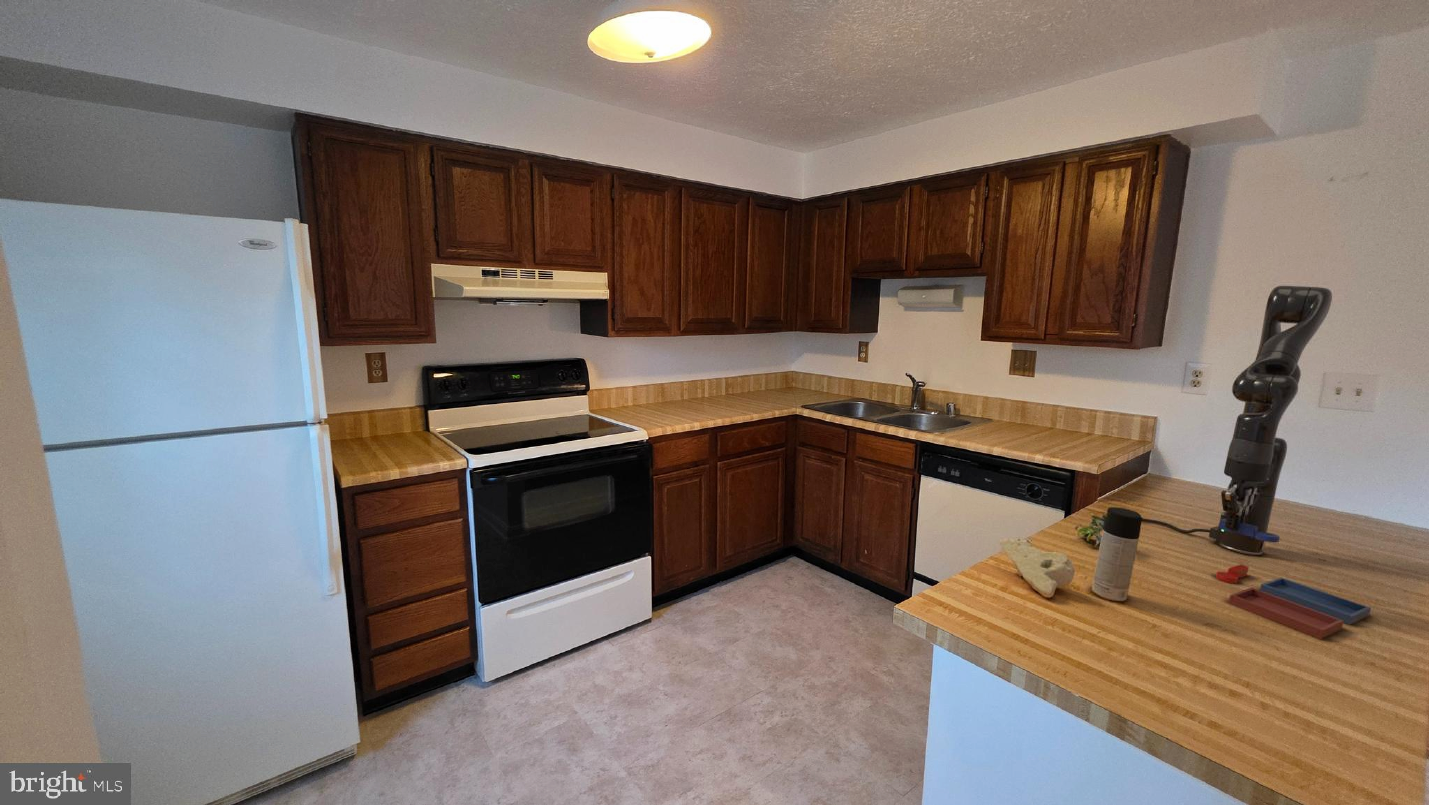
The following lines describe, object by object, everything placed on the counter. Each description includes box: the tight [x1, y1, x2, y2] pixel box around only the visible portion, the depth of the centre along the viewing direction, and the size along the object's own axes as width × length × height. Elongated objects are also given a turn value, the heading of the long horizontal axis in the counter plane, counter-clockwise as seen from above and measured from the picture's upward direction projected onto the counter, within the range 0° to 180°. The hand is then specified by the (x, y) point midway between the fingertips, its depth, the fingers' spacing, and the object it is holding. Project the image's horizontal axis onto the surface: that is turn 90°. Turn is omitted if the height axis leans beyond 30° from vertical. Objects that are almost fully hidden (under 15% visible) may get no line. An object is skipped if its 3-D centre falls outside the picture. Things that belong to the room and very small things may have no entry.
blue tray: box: [1259, 577, 1372, 626], centre depth 130 cm, size 15×10×2 cm
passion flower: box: [1074, 512, 1107, 549], centre depth 156 cm, size 11×11×12 cm
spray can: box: [1091, 506, 1143, 602], centre depth 127 cm, size 7×7×20 cm
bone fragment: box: [999, 537, 1075, 599], centre depth 131 cm, size 15×7×15 cm
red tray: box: [1228, 587, 1344, 640], centre depth 123 cm, size 15×10×2 cm
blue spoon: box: [1218, 518, 1281, 543], centre depth 131 cm, size 10×4×2 cm, turn 25°
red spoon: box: [1215, 564, 1249, 584], centre depth 141 cm, size 10×4×2 cm, turn 116°
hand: (1233, 528), depth 134 cm, fingers closed on blue spoon, 1 cm apart
